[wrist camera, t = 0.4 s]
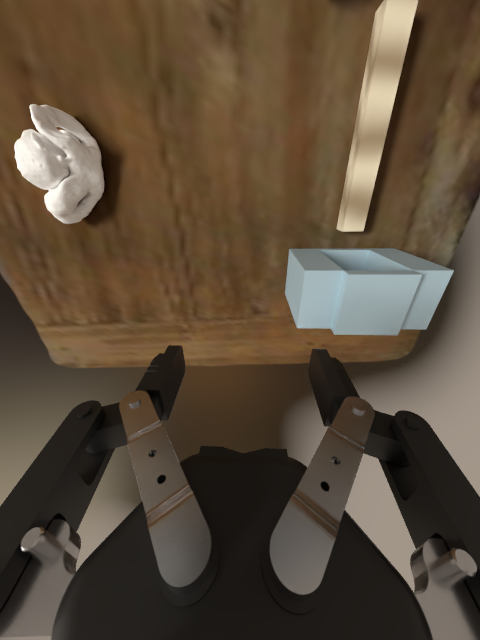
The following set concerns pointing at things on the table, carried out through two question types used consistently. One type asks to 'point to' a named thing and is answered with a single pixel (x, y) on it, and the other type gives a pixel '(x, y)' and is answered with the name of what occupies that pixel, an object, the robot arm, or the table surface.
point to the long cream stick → (375, 108)
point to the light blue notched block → (363, 290)
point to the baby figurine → (61, 163)
